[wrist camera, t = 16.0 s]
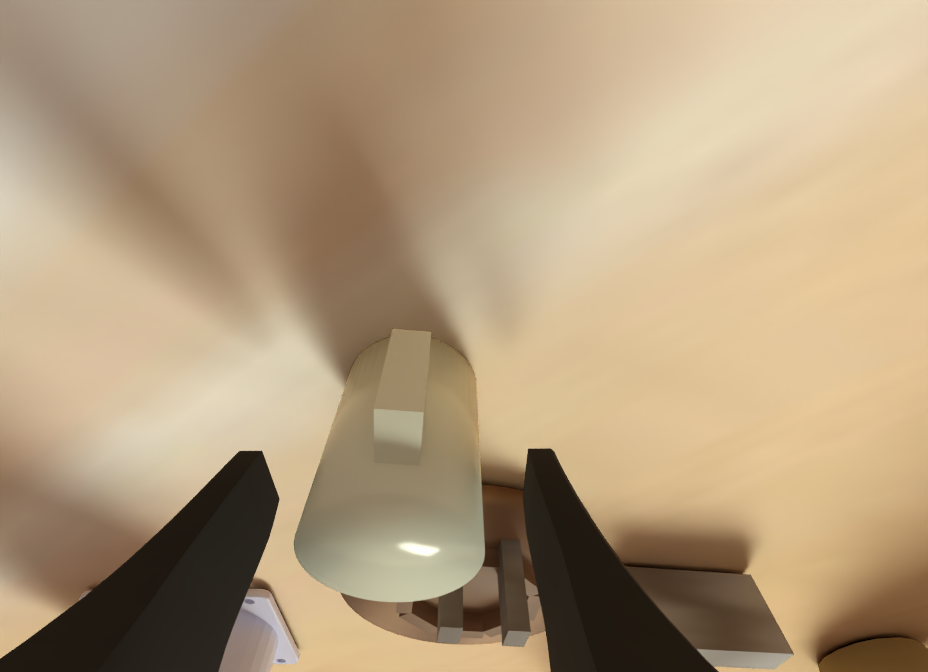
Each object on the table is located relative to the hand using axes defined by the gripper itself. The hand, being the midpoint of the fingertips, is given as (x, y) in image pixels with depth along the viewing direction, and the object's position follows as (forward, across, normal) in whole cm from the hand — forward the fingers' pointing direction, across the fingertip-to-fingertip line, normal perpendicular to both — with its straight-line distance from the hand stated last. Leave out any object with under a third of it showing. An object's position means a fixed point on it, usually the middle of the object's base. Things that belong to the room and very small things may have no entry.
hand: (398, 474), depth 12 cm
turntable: (+3, -6, +11) cm, 13 cm away
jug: (+4, 0, 0) cm, 4 cm away
